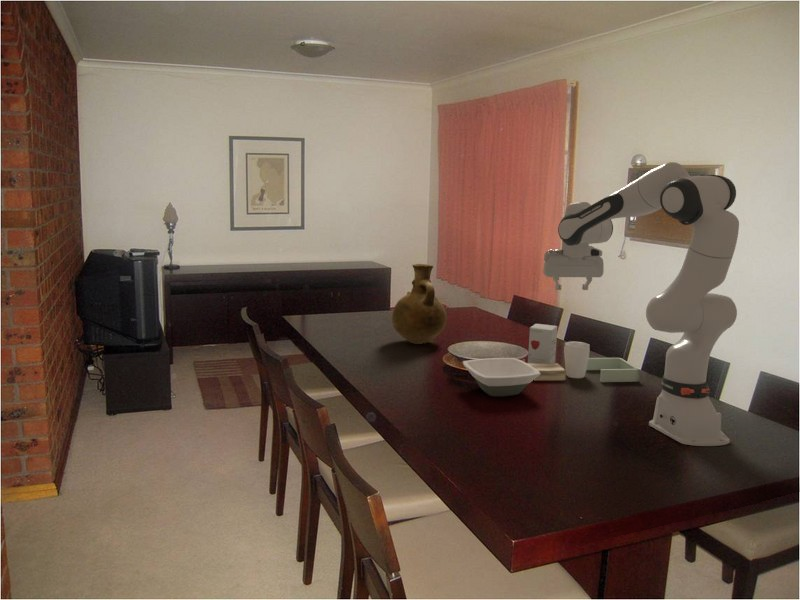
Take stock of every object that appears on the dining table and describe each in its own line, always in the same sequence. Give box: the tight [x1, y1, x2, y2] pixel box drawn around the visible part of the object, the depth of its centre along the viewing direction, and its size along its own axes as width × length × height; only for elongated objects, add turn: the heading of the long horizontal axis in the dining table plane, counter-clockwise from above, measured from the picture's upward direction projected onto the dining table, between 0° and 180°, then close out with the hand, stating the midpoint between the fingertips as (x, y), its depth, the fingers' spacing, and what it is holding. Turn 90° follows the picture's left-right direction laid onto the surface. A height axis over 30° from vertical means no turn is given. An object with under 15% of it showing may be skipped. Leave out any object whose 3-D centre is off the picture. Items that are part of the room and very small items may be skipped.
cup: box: [563, 340, 590, 379], centre depth 231 cm, size 9×9×12 cm
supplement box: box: [527, 323, 558, 363], centre depth 247 cm, size 9×9×15 cm
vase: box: [391, 263, 448, 345], centre depth 275 cm, size 24×24×35 cm
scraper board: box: [526, 362, 566, 381], centre depth 231 cm, size 10×12×4 cm
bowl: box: [462, 357, 541, 397], centre depth 213 cm, size 22×23×8 cm
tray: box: [586, 357, 641, 383], centre depth 233 cm, size 16×14×4 cm
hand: (571, 289), depth 217 cm, fingers open, 8 cm apart
